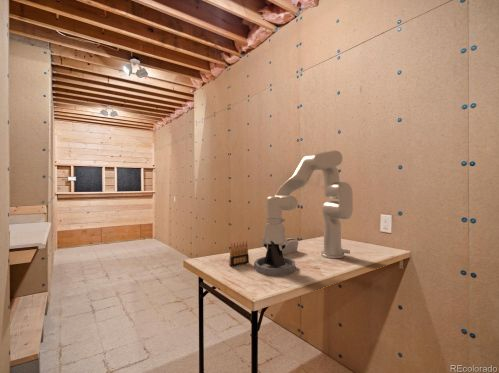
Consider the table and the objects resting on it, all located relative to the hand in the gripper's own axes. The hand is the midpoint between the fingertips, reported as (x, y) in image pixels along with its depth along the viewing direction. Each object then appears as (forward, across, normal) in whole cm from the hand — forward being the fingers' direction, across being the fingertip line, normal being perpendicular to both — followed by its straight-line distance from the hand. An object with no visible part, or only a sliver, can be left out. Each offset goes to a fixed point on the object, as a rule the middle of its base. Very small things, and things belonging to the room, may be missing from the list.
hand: (274, 257), depth 127 cm
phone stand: (+4, 0, 0) cm, 4 cm away
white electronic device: (+6, -4, -28) cm, 28 cm away
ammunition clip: (+6, +19, -2) cm, 20 cm away
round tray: (+6, 0, 0) cm, 6 cm away
